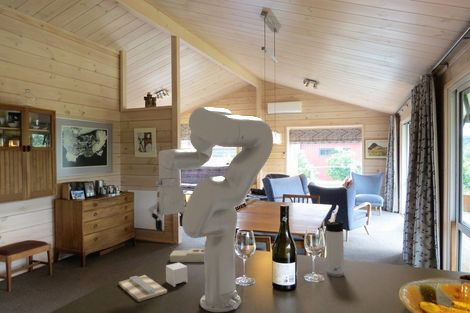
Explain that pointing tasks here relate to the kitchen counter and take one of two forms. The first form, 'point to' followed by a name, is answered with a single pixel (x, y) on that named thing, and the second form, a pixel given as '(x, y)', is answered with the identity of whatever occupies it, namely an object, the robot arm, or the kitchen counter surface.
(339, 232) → the travel mug
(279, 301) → the kitchen counter surface
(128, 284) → the mounting board
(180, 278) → the white cube
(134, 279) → the steel rail
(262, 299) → the kitchen counter surface
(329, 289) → the kitchen counter surface
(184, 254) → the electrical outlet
